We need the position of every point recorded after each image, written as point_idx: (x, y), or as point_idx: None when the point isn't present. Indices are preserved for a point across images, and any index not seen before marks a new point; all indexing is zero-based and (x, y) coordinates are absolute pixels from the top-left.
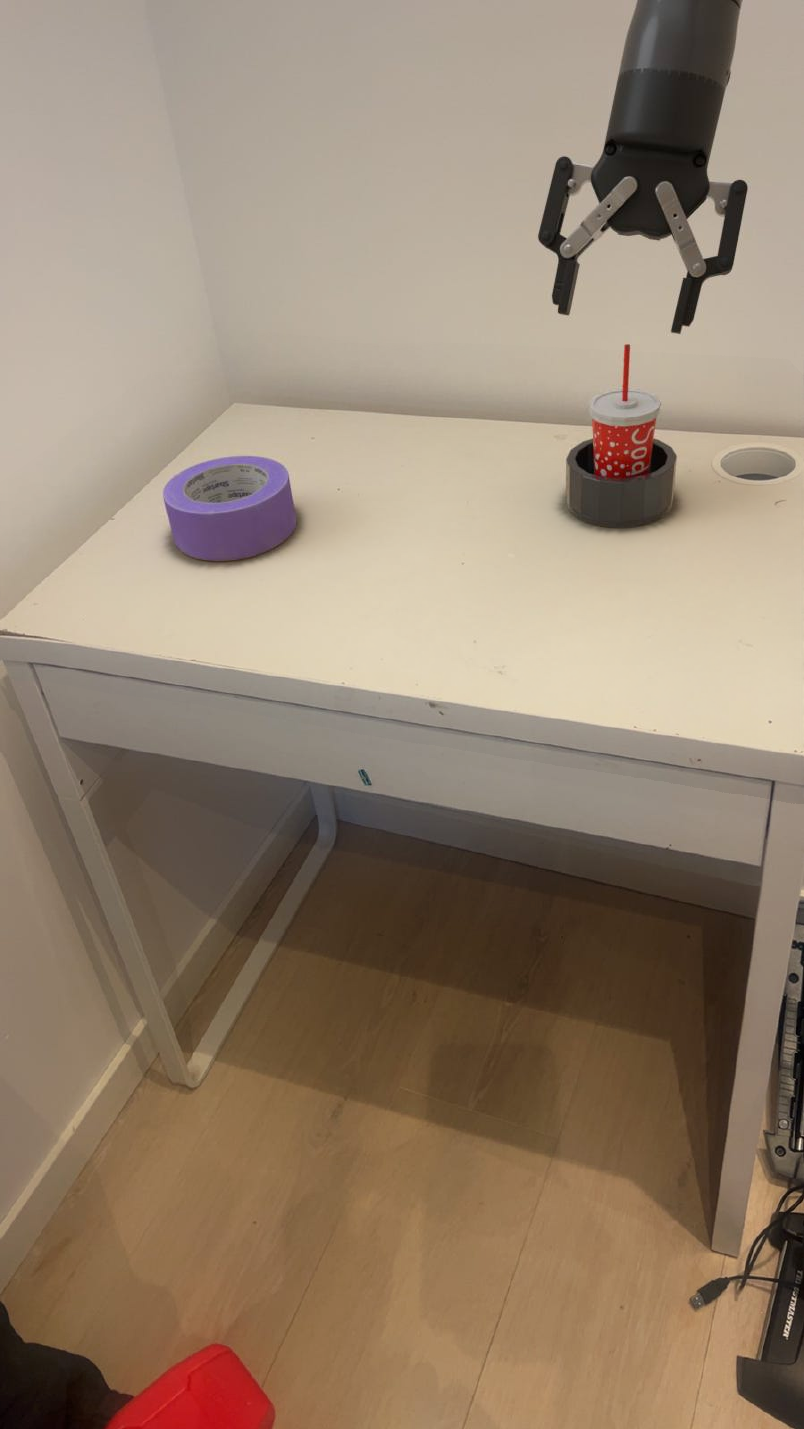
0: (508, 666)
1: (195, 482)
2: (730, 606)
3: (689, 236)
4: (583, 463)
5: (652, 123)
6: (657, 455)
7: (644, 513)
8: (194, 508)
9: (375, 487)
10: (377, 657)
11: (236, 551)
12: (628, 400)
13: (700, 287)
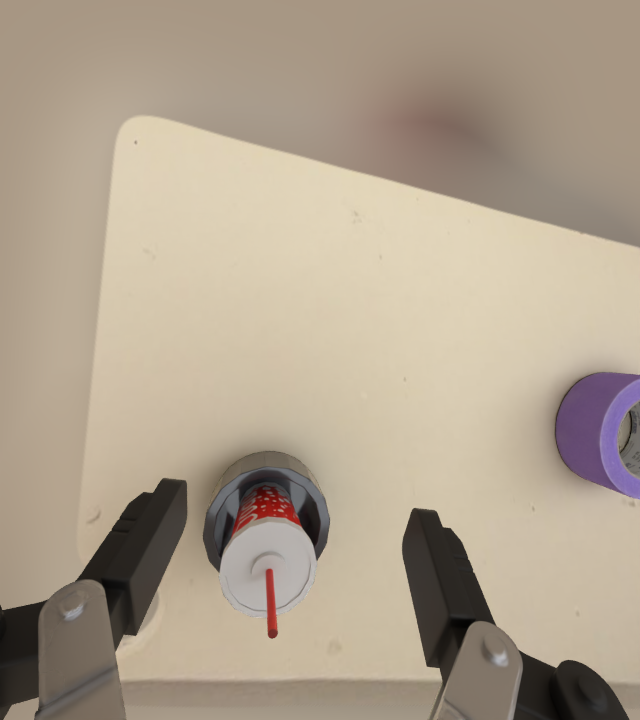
0: (350, 222)
1: None
2: (159, 313)
3: (55, 714)
4: None
5: None
6: None
7: (240, 462)
8: None
9: (501, 515)
10: (452, 235)
11: (595, 376)
12: (264, 572)
13: (86, 567)
